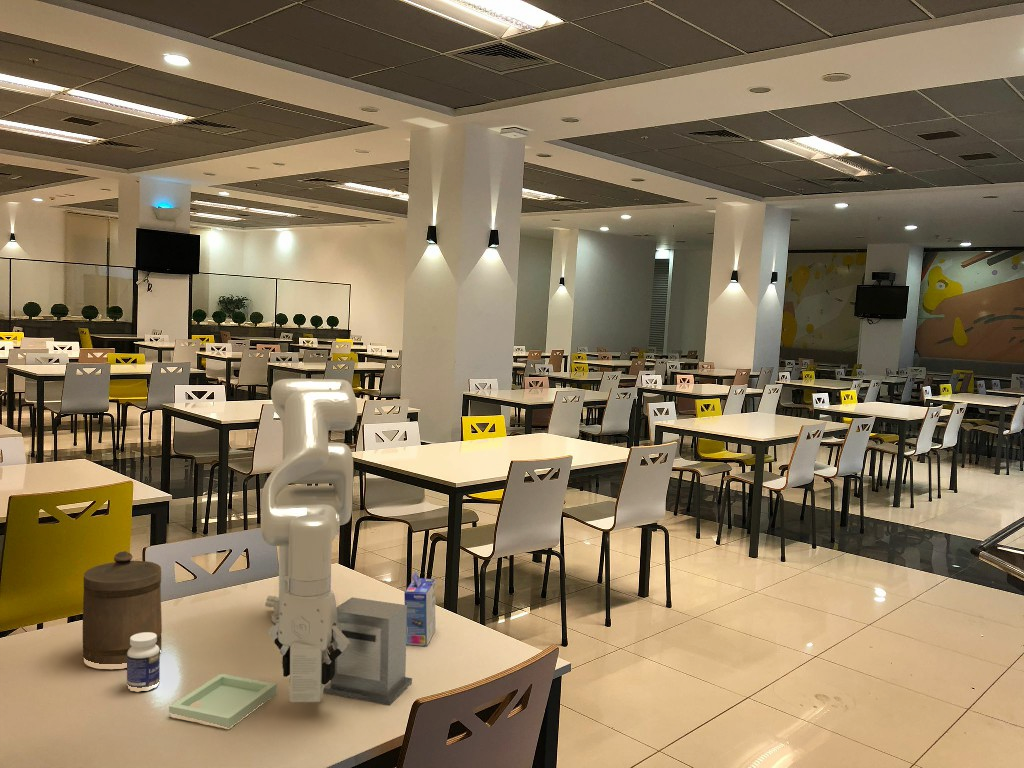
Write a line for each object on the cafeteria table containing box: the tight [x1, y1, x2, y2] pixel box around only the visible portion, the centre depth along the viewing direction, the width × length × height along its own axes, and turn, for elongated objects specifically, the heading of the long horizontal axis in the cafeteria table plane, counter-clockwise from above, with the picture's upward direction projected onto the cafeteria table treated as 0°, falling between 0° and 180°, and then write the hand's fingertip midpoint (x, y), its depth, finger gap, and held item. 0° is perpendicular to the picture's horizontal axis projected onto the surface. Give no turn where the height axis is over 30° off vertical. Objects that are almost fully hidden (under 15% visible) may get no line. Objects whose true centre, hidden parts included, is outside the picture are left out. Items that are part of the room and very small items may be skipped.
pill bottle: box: [126, 632, 161, 688], centre depth 158 cm, size 6×6×10 cm
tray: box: [168, 673, 277, 728], centre depth 151 cm, size 12×14×2 cm
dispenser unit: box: [322, 596, 413, 706], centre depth 160 cm, size 14×10×16 cm
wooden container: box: [82, 550, 163, 664], centre depth 171 cm, size 15×15×22 cm
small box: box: [289, 642, 326, 703], centre depth 151 cm, size 8×6×10 cm
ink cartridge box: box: [404, 572, 436, 647], centre depth 186 cm, size 10×6×14 cm, turn 174°
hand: (308, 676), depth 151 cm, fingers closed on small box, 7 cm apart
